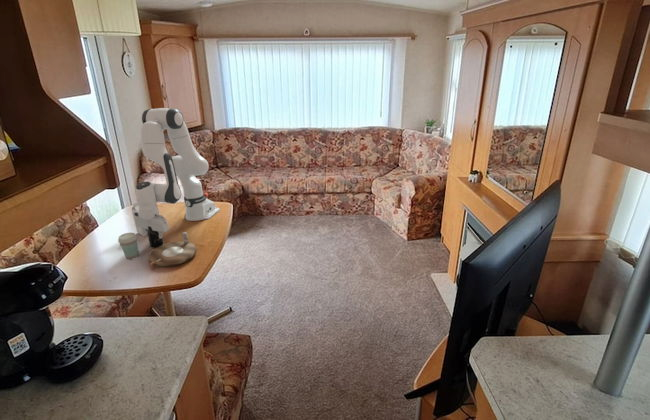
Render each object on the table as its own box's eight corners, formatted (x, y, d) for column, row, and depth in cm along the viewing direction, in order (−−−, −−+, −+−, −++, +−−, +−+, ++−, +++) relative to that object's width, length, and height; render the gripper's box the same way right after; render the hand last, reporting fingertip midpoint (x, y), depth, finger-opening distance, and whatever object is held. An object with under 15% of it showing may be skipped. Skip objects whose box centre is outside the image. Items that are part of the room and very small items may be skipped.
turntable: (173, 241, 197) (170, 228, 194) (205, 248, 189) (203, 235, 186) (139, 260, 179) (136, 247, 176) (173, 270, 170) (170, 256, 167)
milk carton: (155, 231, 211) (148, 201, 204) (143, 236, 206) (136, 205, 198) (149, 228, 215) (142, 198, 208) (137, 233, 210) (129, 202, 202)
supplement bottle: (158, 248, 192) (154, 228, 188) (147, 247, 194) (142, 227, 189) (166, 242, 199) (162, 222, 194) (155, 241, 200) (150, 221, 195)
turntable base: (173, 245, 195) (172, 239, 194) (199, 251, 188) (198, 245, 187) (138, 266, 176) (137, 260, 175) (166, 274, 170) (165, 267, 168)
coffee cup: (133, 251, 190) (127, 230, 186) (145, 254, 187) (140, 233, 183) (119, 259, 183) (113, 238, 178) (131, 262, 180) (125, 241, 175)
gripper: (169, 213, 187) (174, 237, 193) (140, 208, 195) (146, 231, 201) (159, 218, 182) (164, 242, 188) (130, 212, 190) (136, 235, 195)
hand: (154, 236), depth 194 cm, fingers closed on supplement bottle, 7 cm apart
